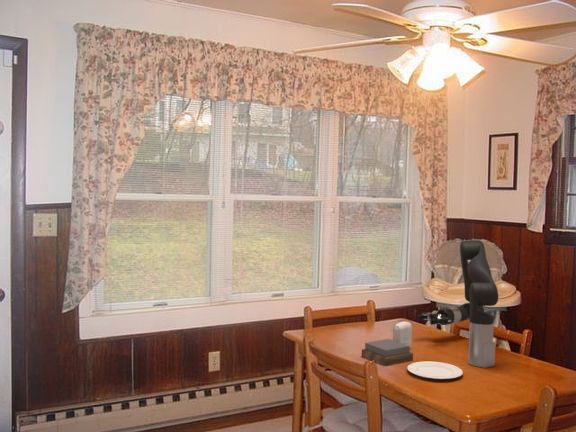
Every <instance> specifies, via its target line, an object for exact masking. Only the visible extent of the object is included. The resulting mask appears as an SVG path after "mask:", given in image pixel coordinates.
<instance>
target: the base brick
mask: <svg viewBox="0 0 576 432" xmlns="http://www.w3.org/2000/svg"><path fill="white" fill-rule="evenodd" d="M361 357H362V358H364V359H367V360H369V361H371V360H374V361H375V362H374V361H373V362H374V363H377V364H378V365H379V364H380V365H381V366H384V367H388V366H392V365H398V364H402V363H408V362H411V361H414V353H413V352H410V353H407V354H402V355H397V356H392V357H387V358H385V357H383V356H380V355H377V354H375V353H372V352H369V351H367V350H365V348H363V349H361Z"/></svg>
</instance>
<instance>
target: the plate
mask: <svg viewBox="0 0 576 432" xmlns="http://www.w3.org/2000/svg"><path fill="white" fill-rule="evenodd" d="M406 369H407V371H408V372H409V373H410V374H412V375H414V376H417V377H419V378H422V379H427V380H430V381H431V380H432V381H448V380H452V379H457V378H460V377H461V376H463V374H464V371H463V369H461V368H460V367H458V366H456V365H453V364H451V363H447V362H442V361H441V362H439V361H430V360H429V361H417V362H413V363H412V362H411V363H410V364H409V365H407V368H406Z"/></svg>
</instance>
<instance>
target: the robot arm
mask: <svg viewBox="0 0 576 432" xmlns="http://www.w3.org/2000/svg"><path fill="white" fill-rule="evenodd" d="M459 254H460V263H461V271H462V275H463V282H464V299H465V300H466V301H467V302H466V303H463V304H462V305H459V306H456V307H453V306H451V307H446V308H440V309H438V310H437V312H433V313H432V312H431V311H427V312H421V313H420V314H418V315H416V321H426V320H427V322H429V324H430V325H442V326H447V325H452V324H456V323H459V322H464V321H467V320H468V319H469V323H468V325H469V328H468V330H469V331H468V364H469V365H470V366H474V367H478V368H484V369H485V368H490V367H494V366H495V365H496V359H495V358H496V342H495V341H494V316H493V315H492V314H489V313H487V312H485V309H484V307H493V306H496V305H497V304H498V301H499V292H498V288H497V285H496V282H495V280H494V279H493V277H492V271H491V267H490V265H489V262H488V259H487V254H486V248H485V244H484V242H483V241H482V240H479V239H478V240H477V239H476V240H473V239H472V240H462V241H461V242H460V244H459Z"/></svg>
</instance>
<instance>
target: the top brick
mask: <svg viewBox="0 0 576 432" xmlns="http://www.w3.org/2000/svg"><path fill="white" fill-rule="evenodd" d="M364 349H365V350H367V351H369V352H372V353H375V354H377V355H380V356H383V357H385V358H387V357H392V356H397V355H402V354H407V353H410V350H411V348H410V346H408V345H405V344H402V343H399V342H396V341H393V339H390V338H385V339H380V340H375V341H368V342H365V343H364Z"/></svg>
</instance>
